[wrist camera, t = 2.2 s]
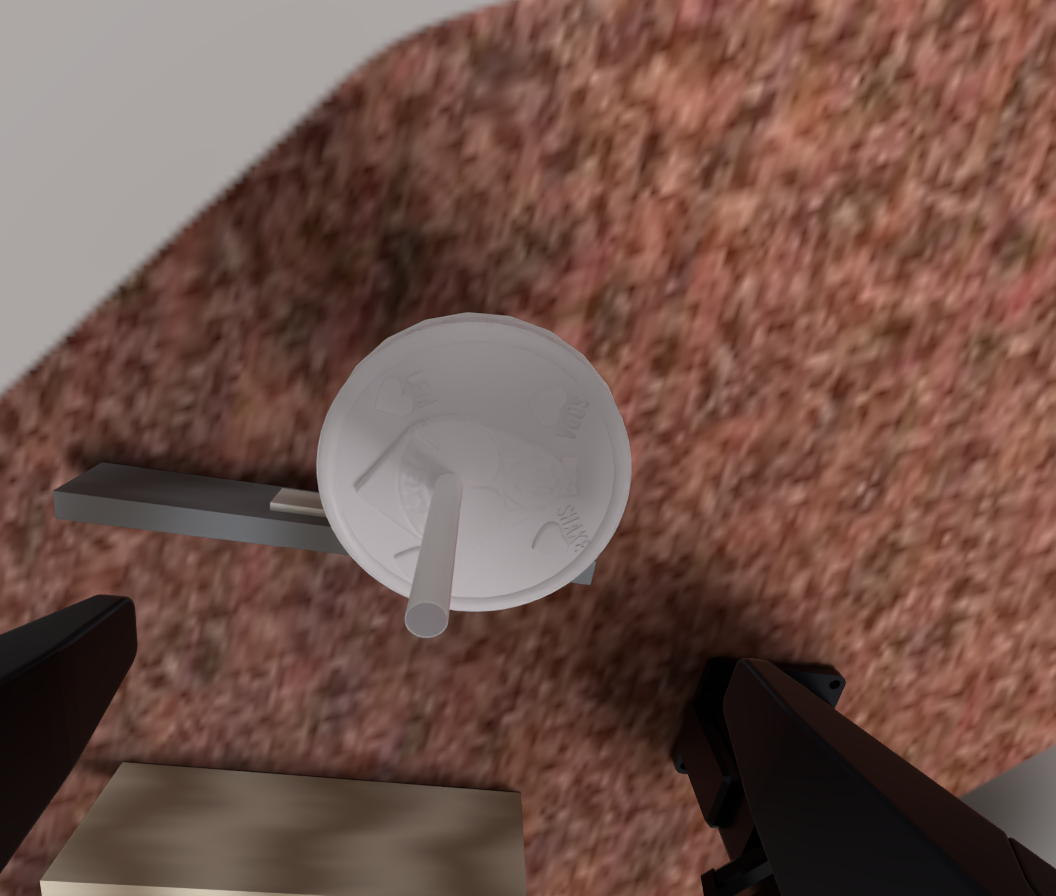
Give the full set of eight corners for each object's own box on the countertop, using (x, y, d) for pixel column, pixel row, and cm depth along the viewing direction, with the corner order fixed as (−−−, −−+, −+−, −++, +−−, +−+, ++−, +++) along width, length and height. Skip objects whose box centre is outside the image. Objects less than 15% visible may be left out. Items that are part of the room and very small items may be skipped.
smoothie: (381, 284, 19) (146, 384, 6) (571, 277, 19) (739, 356, 6) (402, 462, 21) (264, 816, 8) (572, 453, 22) (699, 780, 9)
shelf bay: (587, 521, 23) (612, 595, 18) (516, 810, 28) (521, 925, 23) (102, 454, 21) (-13, 518, 16) (124, 781, 26) (42, 902, 21)
